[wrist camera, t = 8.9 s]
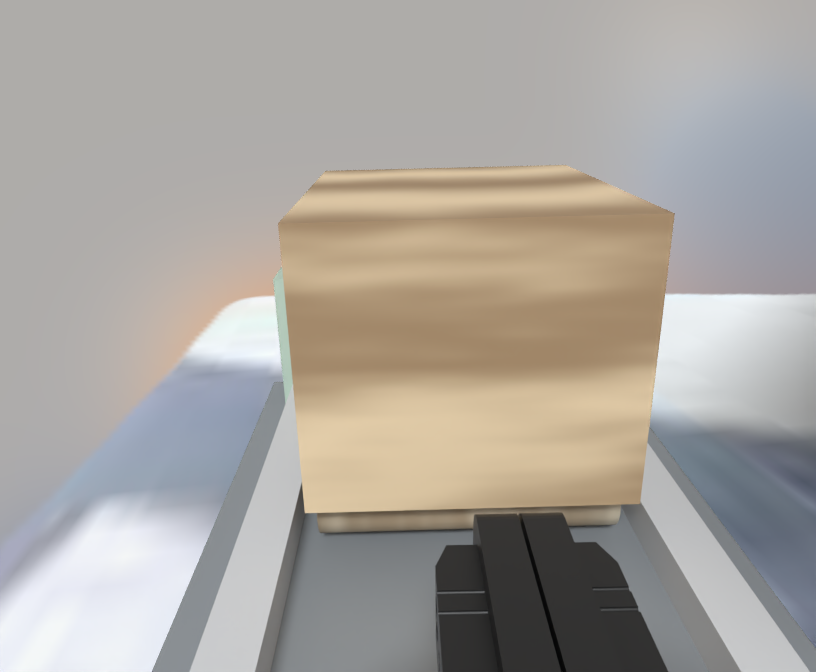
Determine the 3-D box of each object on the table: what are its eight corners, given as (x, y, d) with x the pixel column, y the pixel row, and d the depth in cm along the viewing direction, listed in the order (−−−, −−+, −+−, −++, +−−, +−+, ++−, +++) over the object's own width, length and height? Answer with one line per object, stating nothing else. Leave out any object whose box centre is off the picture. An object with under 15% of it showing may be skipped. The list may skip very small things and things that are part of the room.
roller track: (1376, 1504, 8) (1870, 1190, 5) (-175, 1561, 8) (-516, 1271, 5) (607, 393, 36) (620, 256, 33) (276, 402, 36) (262, 265, 33)
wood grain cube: (633, 556, 21) (674, 213, 17) (309, 565, 21) (278, 223, 17) (551, 394, 32) (565, 165, 28) (340, 400, 32) (325, 170, 28)
